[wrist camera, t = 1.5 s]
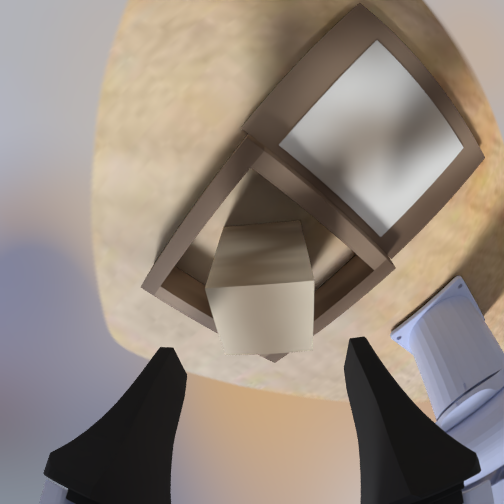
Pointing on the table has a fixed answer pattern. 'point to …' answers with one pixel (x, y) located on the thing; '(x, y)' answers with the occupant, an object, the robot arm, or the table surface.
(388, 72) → the brown divided tray
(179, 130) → the table surface
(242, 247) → the block
